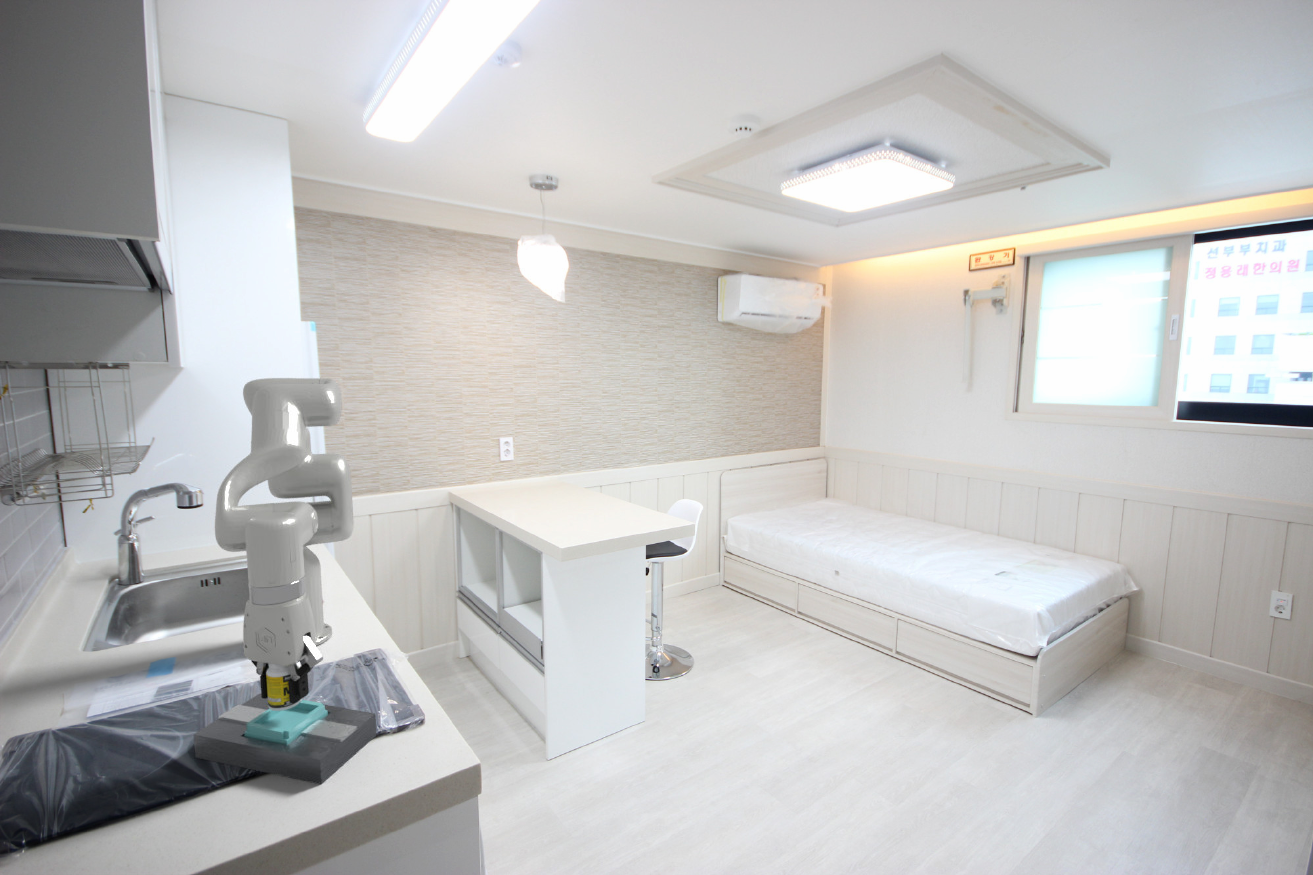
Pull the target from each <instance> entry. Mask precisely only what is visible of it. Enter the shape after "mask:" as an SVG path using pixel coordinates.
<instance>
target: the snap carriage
mask: <svg viewBox="0 0 1313 875" xmlns="http://www.w3.org/2000/svg"><path fill="white" fill-rule="evenodd" d="M325 705H326V704H324V705H323V703H322V702H318V701H312V700H305V699H302V700H301V702H300V703H299V704H297V705H296V706H294V707H292V708H290V709H287V710H282V711H274V710H271V709H268V710H266V711H265V712H263V713H262V714H260V715H259V716H257V717H256V718H254V719H253V720H251V721H250V722H248V723H247V731H245V732H244V734H245V737H247V738H252V739H257V740H262V741H267V742H272V743H277V744H282V745H288V744H290V743H291V742H292V741H294V740H295V739H296V738H298V737H299V736H300V735H302V734H301V732H302V731H304V730H305V729H306V728H308V727H309V726H310V725H312V724H313V723H314V722H316V721H317V720H318V719H319V720H322V719H323V718H324V717H326V716H327V715H328V711H327V710H325Z"/></svg>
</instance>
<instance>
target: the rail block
mask: <svg viewBox="0 0 1313 875" xmlns="http://www.w3.org/2000/svg"><path fill="white" fill-rule="evenodd" d="M323 705H325V710H327V711H328V715H327V716H326V717H324V718H323V719H322V720H319V719H318V720H317V721H316V722H314V723H313V724H312V725H310V726H309V727H308V728H306V729H305V730H304V731H302V732H301V734H302V735H300V736H299V737H298V738H296V739H295V740H294V741H292V742H291V743H290V744H288V745H282V744H277V743H272V742H267V741H262V740H257V739H252V738H247V737H245V734H244V732H245V731H247V723H248V722H250V721H251V720H253V719H254V718H256V717H257V716H259V715H260V714H262V713H263V712H265V711H266V710H268V709H269V706H268V698H266V699H264V698H262V697H261V693H259V694H257V695H255V696H254V697H252V698H250V699H249V700H247V701H245V702H243V703H242V704H237V705H235V706H234V707H231V708H230V709H229V710H227V711H225V712H223V713H222V714H221V715H219V716H218V718H217V719H216V720H215V721H212V722H211V723H210V724H208V725H207V726H205V727H203V728H202V729H200V730H198V731H196V732H195V733H193V745H194V754H195V758H196V759H201V760H206V761H211V762H215V763H219V764H225V765H230V766H233V767H239V768H244V769H247V770H248V769H249V770H253V771H258V772H263V773H268V774H272V775H276V776H280V777H286V778H291V779H294V780H295V779H296V780H300V781H304V782H305V781H306V782H309V783H315V784H320V785H322V784H324V783H325V782H326V781H327V780H328V779H329V778H330V777H331V776H333V775H334V774H335V773H336V772H337V771H339V769H341V768H342V767H343V766H344V765H345V764H346V763H347V762H349V761H350V760H351V759H352V758H353V757H355V755H357V753H359V752H360V751H361V750H362V749H363V748H364V747H366V745H367V744H369V743H370V742H371V741H372V740H373V739H374V738H375V737H377V719H376V713H373V712H369V711H363V710H357V709H351V708H346V707H340V706H334V705H328V704H323Z"/></svg>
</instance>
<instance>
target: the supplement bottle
mask: <svg viewBox="0 0 1313 875" xmlns="http://www.w3.org/2000/svg"><path fill="white" fill-rule="evenodd" d="M296 664H297V667H298V669H299V668H300V667H301V664H300V662H298V663H296ZM268 665H269V668H268V670H267V672H266V677H267V693H268V706H269V709H271V710H274V711H282V710H287V709H290V708H292V707H294V706H296V705H297V704H299V703H300V702H301V700H303V698H302V699H301V700H299V701H298V702H296V703H295V704H292V703H290V699H289V685H288V682H289V680H291V679H292V678H291V675H290V671H289V668H288V666H282V665H275V664H269V663H268Z"/></svg>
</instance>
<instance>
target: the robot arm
mask: <svg viewBox="0 0 1313 875" xmlns="http://www.w3.org/2000/svg"><path fill="white" fill-rule="evenodd" d="M341 392H342V391H341V388H340V386H339V384H338V382H337V381H335V379H333V378H332V379H331V378H322V377H321V378H318V377H317V378H314V377H311V378H303V377H302V378H300V377H299V378H297V377H270V378H269V377H268V378H259V379H252V380H250V381H248V382H246V383H245V384H244V387H243V388H242V396H243V401H244V403H245V405H246V408H247V410H248V411H249V413H250V415H251V436H250V438H251V439H250V440H251V441H250V453H249V454H248V455H247V456H246V457H244V458H243V459H242V460H241V461H239V462H238V463H237V464H236V465H235V466H234V467H233V468H231V470H230V471H229V472H228V474H227V475H226V476H225V478H224V479H223V481H222V482H221V484H220V486H219V488H218V491H217V496H216V504H215V514H214V515H215V517H214V536H215V540H216V543H217V544H218V546H219V547H220V548H221V549H222V550H223V551H226V552H231V553H237V552H238V553H239V552H240V553H241V552H245V553H246V565H247V576H248V577H247V578H248V582H247V583H248V584H247V587H248V591H249V599H247V600H246V603H245V608H244V614H243V626H242V627H243V628H242V629H243V630H242V631H243V633H242V639H243V642H242V643H243V649H242V652H243V654H244V657H245V658H246V659H248V660H249V661H251V663H252V664H253V666H254V667H255V668H256V670H255V672H256V674H257V675H259V681H260V692H261V697H262V698H264V699H266V698H268V693H267V677H266V672H267V670H268V668H269V665H268V663H269V664H275V665H282V666H288V668H289V671H290V675H291V678H292V679H291V680H289V682H288V685H289V699H290V703H292V704H295V703H296V702H298V701H299V700H301V699H302V700H303V698H305V697H306V696H308V695H309V689H310V688H309V680H308V679H309V677H308V676H309V673H310V672H312V670H313V669H314V667H315V666H317V665H318V664H319V663H320V662H323V660H324V657H323V654H321V652H320V651H319V649H318V648H317V646H319V645H321V644H323V643H325V642H326V641H328V640H329V639H330V638H331V637H332V634H333V628H332V626H331V625H329V624H327V623H325V622H324V619H325V618H324V607H323V606H324V604H323V602H324V601H323V587H322V585H323V584H322V572H321V571H322V569H321V562H320V558H319V557H318V556H317V555H316V554H315V553H314V552H313V551H312V550H311V549H310V548H309V547H308V546H313V545H319V544H320V545H321V544H329V543H336V542H343V541H345V540H348V539H349V538H350V537H351V536H352V534H353V532H354V527H355V526H354V522H355V520H354V505H353V489H352V487H353V486H352V477H351V469H350V465H349V464H350V463H349V461H348V460H347V459H346V457H345V456H344V455H342V454H339V453H313V452H312V444H311V434H310V431H309V429H308V427H309V428H310V427H311V428H313V427H314V428H315V427H332V426H335V425H337V424H338V423H339V421H340V419H341V417H342V408H343V406H342V404H343V403H342V393H341ZM266 481H267V485H268V490H269V492H270V494H271V495H272V496H273V497H275V498H277V499H283V500H284V499H289V500H290V499H302V498H303V499H304V498H313V497H327V498H328V499H330V500H322V501H312V502H309V501H307V502H305V501H285V502H284V501H282V502H268V503H260V504H259V503H258V504H247V505H245V504H244V505H239V502H240V500H241V499H242V497H243V496H244V495H245V494H246V493H247V492H248V491H250V490H251V489H253V488H254V487H256V486H258V485H259V484H261V483H263V482H266ZM298 662H299V663H300V666H301V667H300V668H299V669H298V667H297V664H296V663H298Z"/></svg>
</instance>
